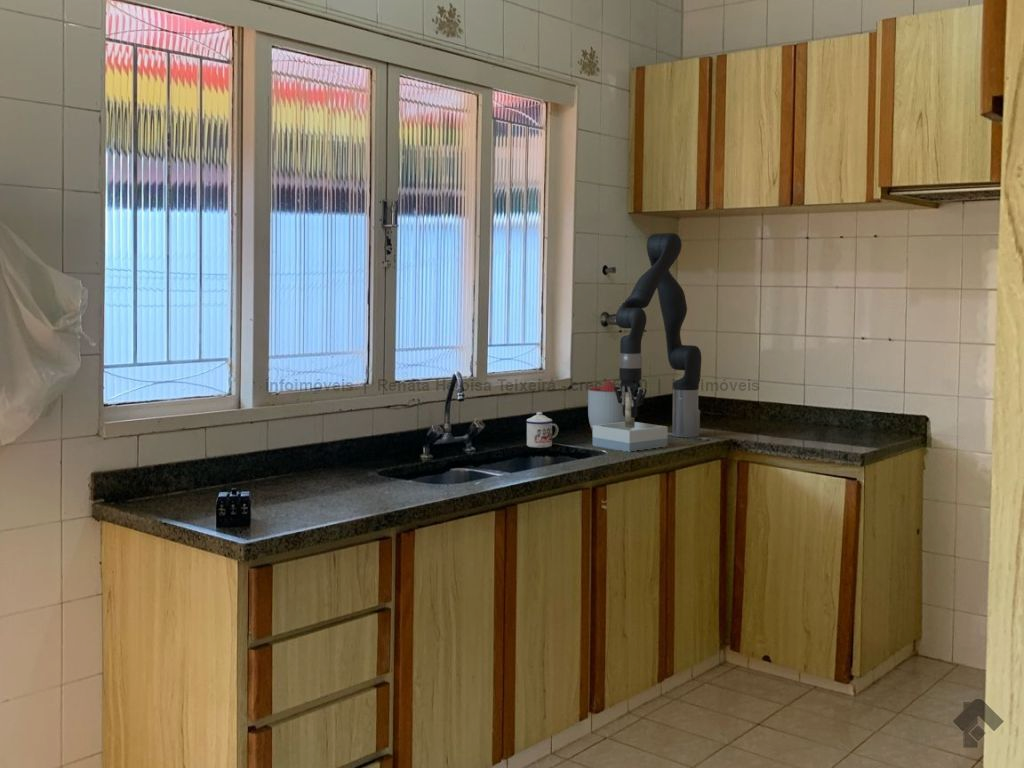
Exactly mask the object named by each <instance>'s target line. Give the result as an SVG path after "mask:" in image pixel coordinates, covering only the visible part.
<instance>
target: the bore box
mask: <svg viewBox="0 0 1024 768" xmlns="http://www.w3.org/2000/svg"><path fill="white" fill-rule="evenodd" d="M668 427H669V426H665V425H660V424H659V425H658V424H651V423H645V422H639V421H635V427H634V428H626V427H625V422H620V423H611V424H602V425H593V432H592V446H593V447H598V448H603V449H609V450H616V451H620V450H622V451H621V452H626V451H628V452H627V453H632V452H631V451H634V452H638V451H637V450H641V451H645V450H644V449H648V450H652V449H651V448H656V449H659V448H658V447H663V448H667V447H668ZM666 446H667V447H666Z"/></svg>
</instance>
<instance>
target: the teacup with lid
mask: <svg viewBox="0 0 1024 768" xmlns="http://www.w3.org/2000/svg"><path fill="white" fill-rule="evenodd" d="M525 422H526V446H527V447H529V448H537V449H539V448H541V449H542V448H549V447H550V448H551V447H552V445H553V439H554V438H555V437H557V435H558V434H559V433H558V432H559V426H558V425H557V424H556V423H553V419H552V418H549V417H548V416H546V415H544V414H543V412H542V411H537V412H536V414H535V415H533V416H531V417H529V418H527V419H526V421H525ZM553 427H554V428H555V429H554V433H553Z"/></svg>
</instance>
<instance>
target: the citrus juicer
mask: <svg viewBox="0 0 1024 768" xmlns="http://www.w3.org/2000/svg"><path fill="white" fill-rule="evenodd" d="M615 387H616V385H615V384H614V383H613V382H612V381H611V380H607V381H605V382H604V384H602V386H595V387H594V386H593V387H588V388H587V390H588V391H587V393H588V394H587V396H588V397H587V414H588V422H589V425H590V429H591V432H592V433H593V425H602V424H611V423H620V422H625V417H624V416H623V405H622V404H621V403H618V400H617V396H616V393H615V389H614V388H615ZM620 398H621V397H620ZM621 400H622V399H621Z"/></svg>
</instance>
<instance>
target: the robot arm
mask: <svg viewBox="0 0 1024 768" xmlns="http://www.w3.org/2000/svg"><path fill="white" fill-rule="evenodd" d="M681 250H682V239H681V237H680V235H678V234H677V233H674V232H663V233H662V232H661V233H660V232H659V233H653V234H650V235H649V236H648V237H647V241H646V251H647V257H648V259H649V262H650V268H649V269H647V271H645V272H644V273H643V274H642V275H641V276H640V277H639V278H638V280H637V281H636V283H635V285H634V287H633V289H632V292H631V293H630V295H629V296H628V297H627V298H626V299H625V301H624V302H623V303H622V304H621V305H620V306H619V308H618V310H617V311H616V314H615V323H616V325H617V327H619V328H621V329H630V331H629V334H628V335H624V336H622V337H621V338H620V344H619V345H620V347H619V348H620V349H619V352H620V353H619V365H618V366H619V367H618V369H619V370H618V371H619V373H618V374H619V375H618V376H619V377H618V380H619V381H620V384H619V385H618V386H615V388H614V389H615V393H616V396H617V400H618V403H621V404H622V405H623V416H624V417H625V392H627V393H629V399H630V400H631V406H632V407H631V417H632V418H638V415H639V414H638V413H639V412H638V410H639V408H638V407H639V406H643V403H644V401H645V397H646V395H647V389H646V388H642V386H641V380H642V369H643V367H642V364H643V362H642V361H643V360H642V339H643V336H644V332H645V329H646V324H647V314H646V312H645V310H644V309H645V308H647V307H648V306H649V305H650V303H651V300H652V299H653V296H654V294H655V292H656V290H657V295H658V302H659V305H660V312H661V316H662V320H663V326H664V331H665V339H666V349H667V352H666V353H667V359H668V362H669V365H670V368H672V369H673V370H675V371H684V373H683V376H682V377H681V378H679V379H677V380H674V381H673V382H672V425H671V426H672V428H671V430H672V431H671V432H672V434H671V435H672V437H675V438H697V437H698V436H700V435H701V433H700V432H701V431H700V430H701V429H700V428H701V422H700V421H701V410H700V409H699V390H700V389H699V387H700V385H699V384H700V382H701V372H702V352H701V349H700V348H699V347H698V346H697V345H692V344H691V345H690V344H688V345H687V344H682V343H683V342H682V340H681V339H682V338H681V329H682V326H683V323H684V321H685V319H686V315H687V313H688V306H687V300H686V295H685V292H684V290H683V288H682V286H681V285H680V284H679V282H678V281H677V280H676V279H675V277H674V276H673V274H672V273H671V271H670V269H671V267H672V266H673V265H674V263H675V262H676V260H677V259H678V257H679V256H680V253H681ZM633 396H635V397H633ZM620 397H621V398H620ZM621 399H622V400H621ZM634 400H635V403H634Z"/></svg>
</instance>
